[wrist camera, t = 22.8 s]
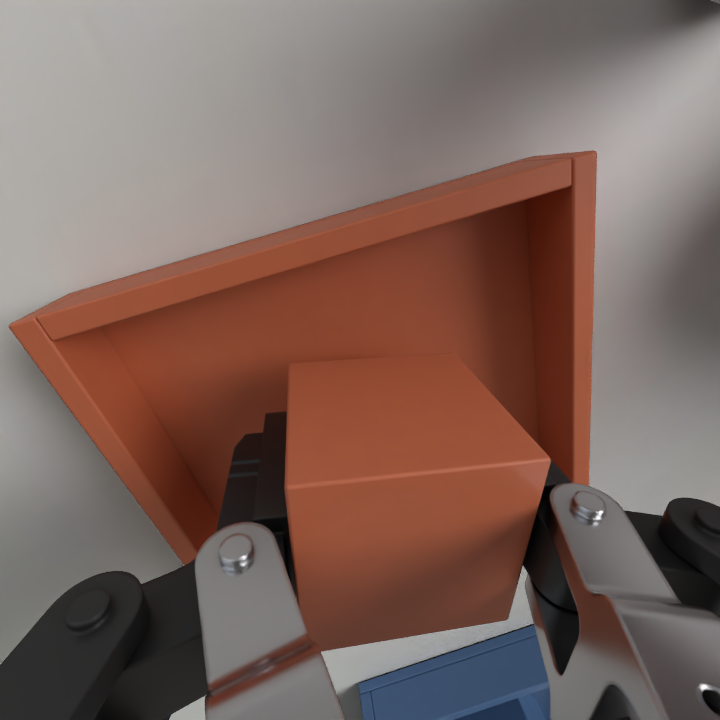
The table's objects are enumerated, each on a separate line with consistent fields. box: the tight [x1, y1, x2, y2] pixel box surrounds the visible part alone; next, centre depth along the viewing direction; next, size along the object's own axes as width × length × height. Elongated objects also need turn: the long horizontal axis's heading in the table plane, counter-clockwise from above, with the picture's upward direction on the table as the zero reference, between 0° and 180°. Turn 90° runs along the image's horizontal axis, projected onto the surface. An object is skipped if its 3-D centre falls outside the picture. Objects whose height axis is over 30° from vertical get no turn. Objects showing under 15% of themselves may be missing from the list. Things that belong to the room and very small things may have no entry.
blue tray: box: [358, 625, 550, 720], centre depth 22 cm, size 13×11×2 cm
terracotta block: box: [284, 353, 551, 652], centre depth 9 cm, size 4×4×4 cm
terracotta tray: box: [9, 151, 597, 565], centre depth 12 cm, size 13×11×2 cm
